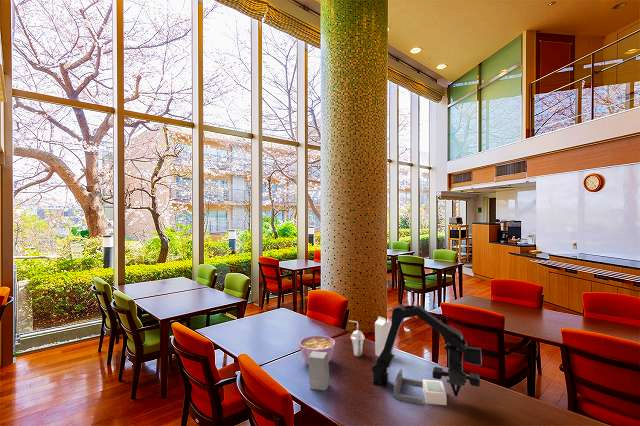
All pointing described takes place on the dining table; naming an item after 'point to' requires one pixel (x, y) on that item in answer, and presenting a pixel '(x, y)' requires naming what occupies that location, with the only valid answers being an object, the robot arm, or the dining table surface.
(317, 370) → the skincare box
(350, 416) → the dining table surface
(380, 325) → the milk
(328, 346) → the bowl of food
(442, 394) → the carton
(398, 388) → the display stand
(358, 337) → the cup with straw
